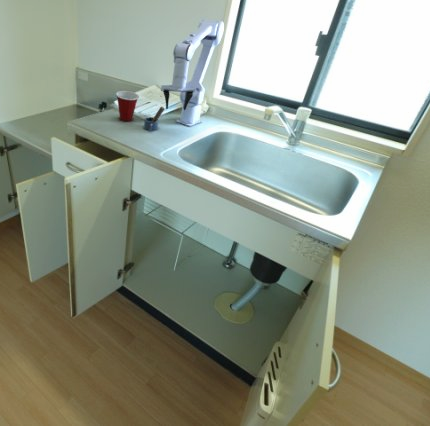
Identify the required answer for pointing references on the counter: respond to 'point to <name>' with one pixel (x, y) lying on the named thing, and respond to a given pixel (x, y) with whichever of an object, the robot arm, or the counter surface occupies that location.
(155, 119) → the stirrer
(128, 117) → the plastic cup
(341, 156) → the counter surface
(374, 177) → the counter surface
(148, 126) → the coffee cup
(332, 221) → the counter surface
